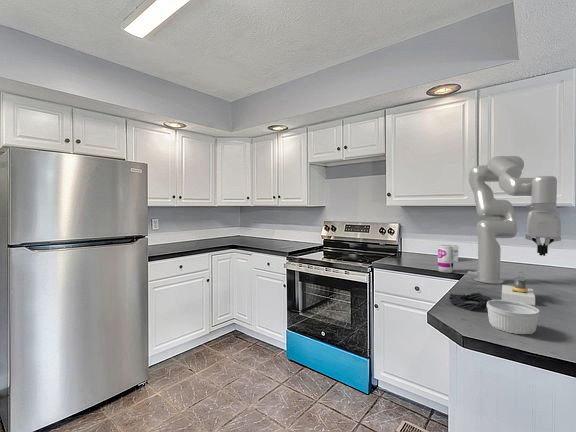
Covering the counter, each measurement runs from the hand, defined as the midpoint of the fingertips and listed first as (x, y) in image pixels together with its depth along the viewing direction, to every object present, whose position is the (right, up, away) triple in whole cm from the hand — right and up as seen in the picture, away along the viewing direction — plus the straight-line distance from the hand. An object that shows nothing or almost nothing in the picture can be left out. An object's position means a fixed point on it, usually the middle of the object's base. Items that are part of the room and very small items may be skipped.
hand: (542, 255), depth 119 cm
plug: (-3, -19, +7) cm, 20 cm away
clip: (-2, -10, +8) cm, 14 cm away
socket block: (-3, -19, +7) cm, 20 cm away
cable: (-29, -20, -1) cm, 35 cm away
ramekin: (-30, -20, -24) cm, 43 cm away
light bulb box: (+17, -17, +100) cm, 103 cm away
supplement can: (-6, -18, +61) cm, 64 cm away
